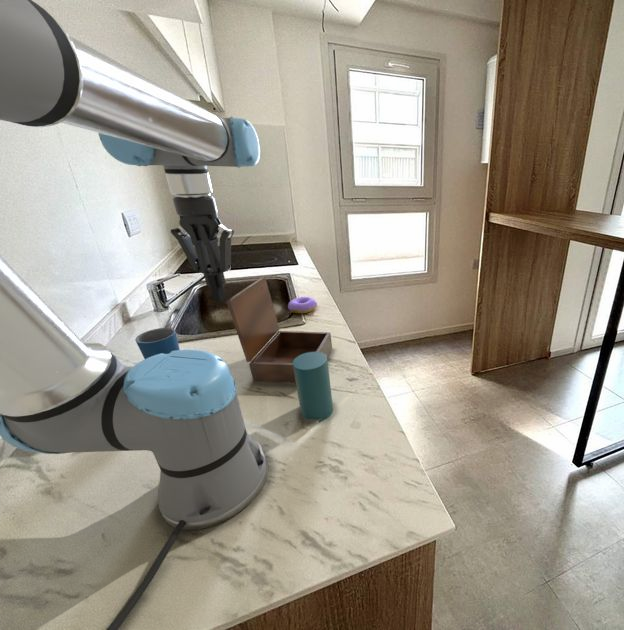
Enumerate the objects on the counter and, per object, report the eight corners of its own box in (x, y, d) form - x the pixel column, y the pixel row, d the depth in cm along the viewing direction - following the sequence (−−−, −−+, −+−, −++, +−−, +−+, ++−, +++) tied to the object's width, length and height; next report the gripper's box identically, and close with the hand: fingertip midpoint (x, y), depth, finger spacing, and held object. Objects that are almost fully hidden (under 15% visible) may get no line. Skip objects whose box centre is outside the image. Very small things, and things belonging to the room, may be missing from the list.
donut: (312, 301, 126) (312, 290, 123) (321, 314, 120) (320, 303, 117) (285, 306, 121) (284, 295, 118) (292, 320, 115) (291, 309, 112)
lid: (265, 276, 85) (262, 276, 85) (229, 300, 70) (226, 301, 70) (279, 329, 92) (276, 329, 92) (250, 361, 77) (246, 362, 77)
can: (318, 426, 67) (310, 373, 62) (294, 416, 70) (285, 364, 64) (339, 407, 72) (334, 356, 67) (316, 398, 75) (309, 348, 70)
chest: (332, 350, 94) (330, 332, 92) (313, 385, 79) (311, 365, 77) (281, 348, 94) (278, 330, 92) (253, 384, 79) (248, 363, 77)
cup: (151, 395, 75) (128, 337, 68) (183, 380, 80) (164, 325, 74) (168, 405, 72) (146, 346, 66) (200, 388, 77) (181, 332, 71)
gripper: (233, 194, 73) (254, 293, 83) (175, 193, 73) (203, 292, 83) (213, 197, 66) (238, 305, 76) (149, 196, 66) (183, 304, 76)
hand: (220, 298), depth 80 cm, fingers closed
